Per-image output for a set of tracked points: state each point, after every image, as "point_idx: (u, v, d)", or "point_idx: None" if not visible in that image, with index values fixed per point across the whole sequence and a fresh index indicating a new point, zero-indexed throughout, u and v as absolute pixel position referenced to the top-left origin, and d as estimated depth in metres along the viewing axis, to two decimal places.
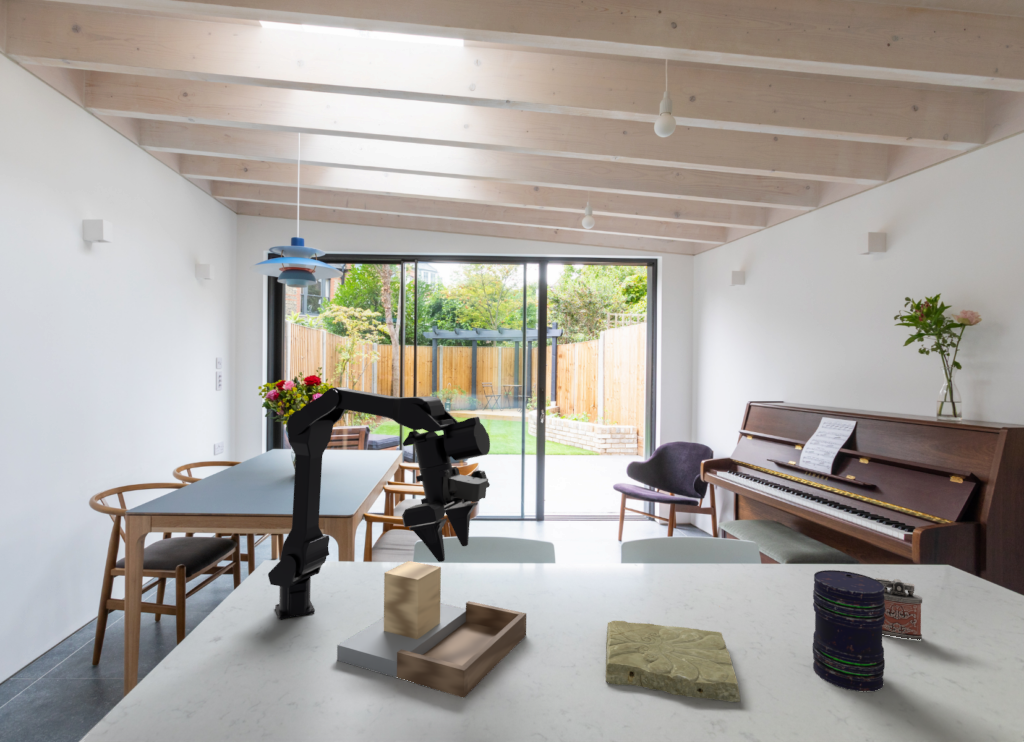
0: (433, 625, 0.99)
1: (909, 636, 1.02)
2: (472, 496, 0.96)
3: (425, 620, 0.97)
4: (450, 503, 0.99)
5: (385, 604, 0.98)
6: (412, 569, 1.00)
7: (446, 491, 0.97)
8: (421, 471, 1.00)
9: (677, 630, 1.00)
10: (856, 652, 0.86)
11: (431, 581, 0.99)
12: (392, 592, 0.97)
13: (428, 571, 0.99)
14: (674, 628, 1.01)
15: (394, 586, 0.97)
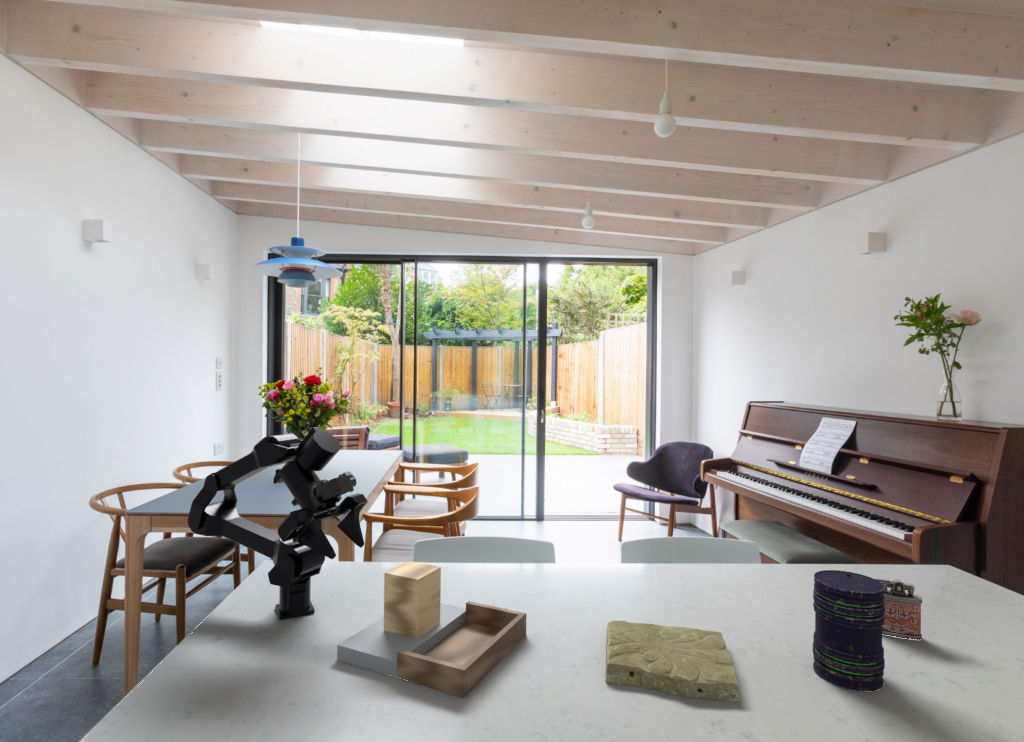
0: (433, 625, 0.99)
1: (909, 636, 1.02)
2: (334, 491, 1.05)
3: (425, 620, 0.97)
4: (329, 508, 1.08)
5: (385, 604, 0.98)
6: (412, 569, 1.00)
7: (314, 499, 1.06)
8: (293, 495, 1.09)
9: (677, 630, 1.00)
10: (856, 652, 0.86)
11: (431, 581, 0.99)
12: (392, 592, 0.97)
13: (428, 571, 0.99)
14: (674, 628, 1.01)
15: (394, 586, 0.97)
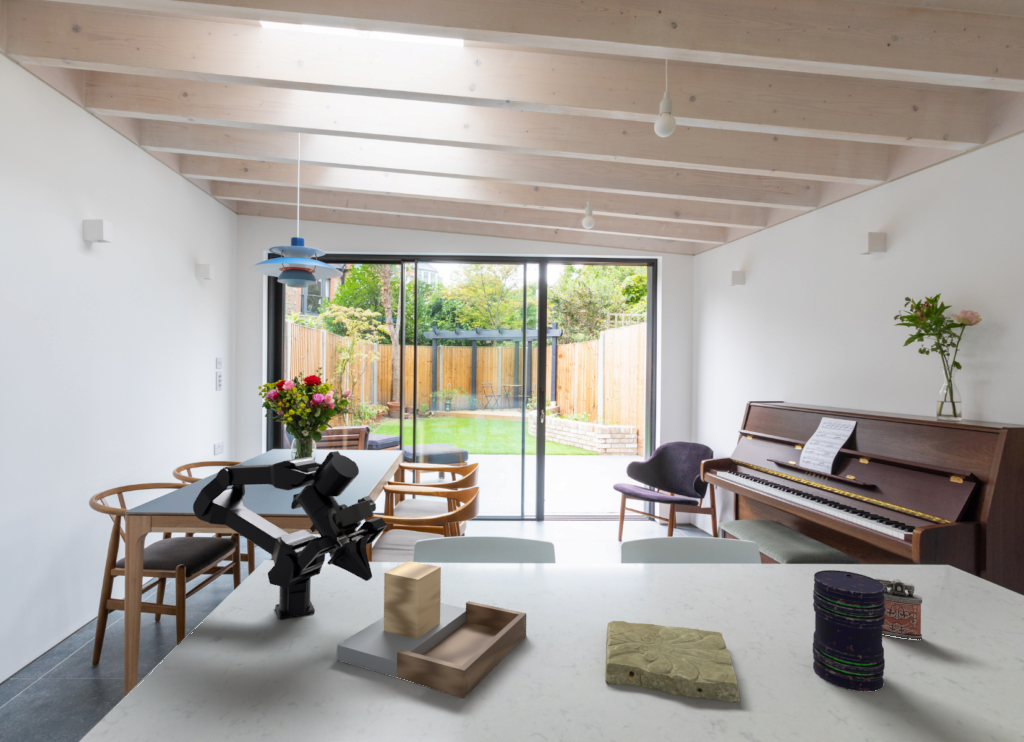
0: (433, 625, 0.99)
1: (909, 636, 1.02)
2: (354, 517, 1.03)
3: (425, 620, 0.97)
4: (362, 530, 1.09)
5: (385, 604, 0.98)
6: (412, 569, 1.00)
7: (333, 525, 1.04)
8: (311, 521, 1.07)
9: (677, 630, 1.00)
10: (856, 652, 0.86)
11: (431, 581, 0.99)
12: (392, 592, 0.97)
13: (428, 571, 0.99)
14: (674, 628, 1.01)
15: (394, 586, 0.97)
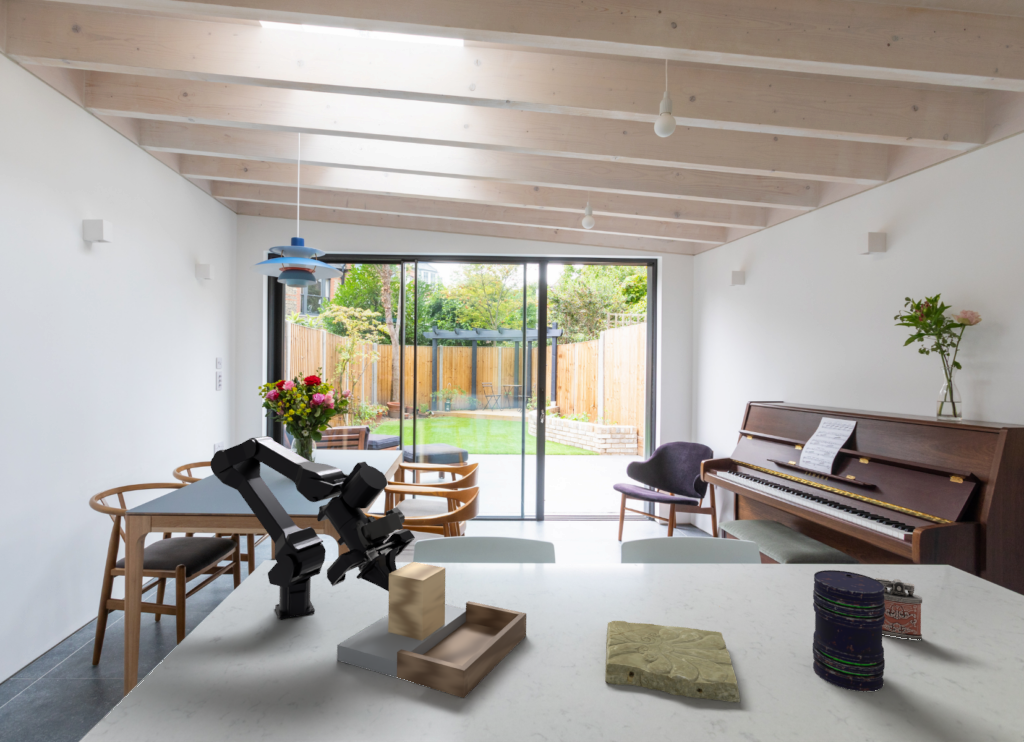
0: (438, 626, 0.99)
1: (909, 636, 1.02)
2: (384, 530, 1.00)
3: (430, 621, 0.97)
4: (390, 542, 1.06)
5: (390, 605, 0.98)
6: (417, 570, 1.00)
7: (362, 538, 1.01)
8: (339, 534, 1.04)
9: (677, 630, 1.00)
10: (856, 652, 0.86)
11: (436, 582, 0.98)
12: (397, 593, 0.97)
13: (433, 572, 0.99)
14: (674, 628, 1.01)
15: (399, 587, 0.97)
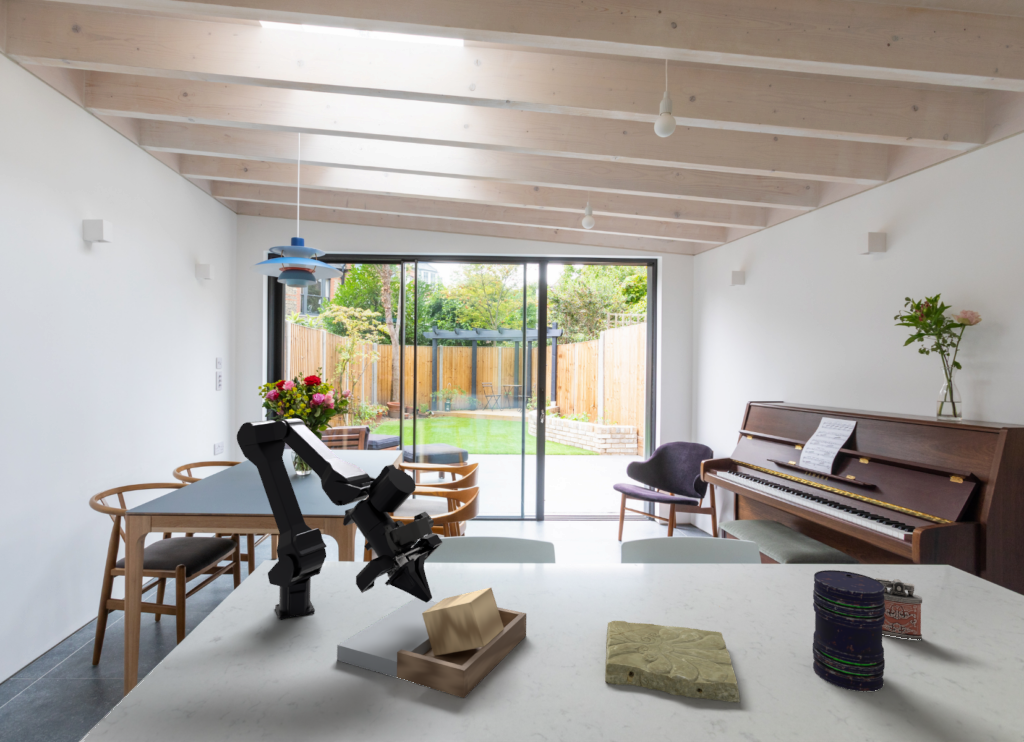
0: None
1: (909, 636, 1.02)
2: (414, 535, 0.97)
3: None
4: (418, 547, 1.04)
5: (444, 610, 0.93)
6: (487, 613, 0.93)
7: (391, 543, 0.98)
8: (366, 539, 1.01)
9: (677, 630, 1.00)
10: (856, 652, 0.86)
11: None
12: (459, 617, 0.92)
13: (494, 631, 0.93)
14: (674, 628, 1.01)
15: (464, 618, 0.91)
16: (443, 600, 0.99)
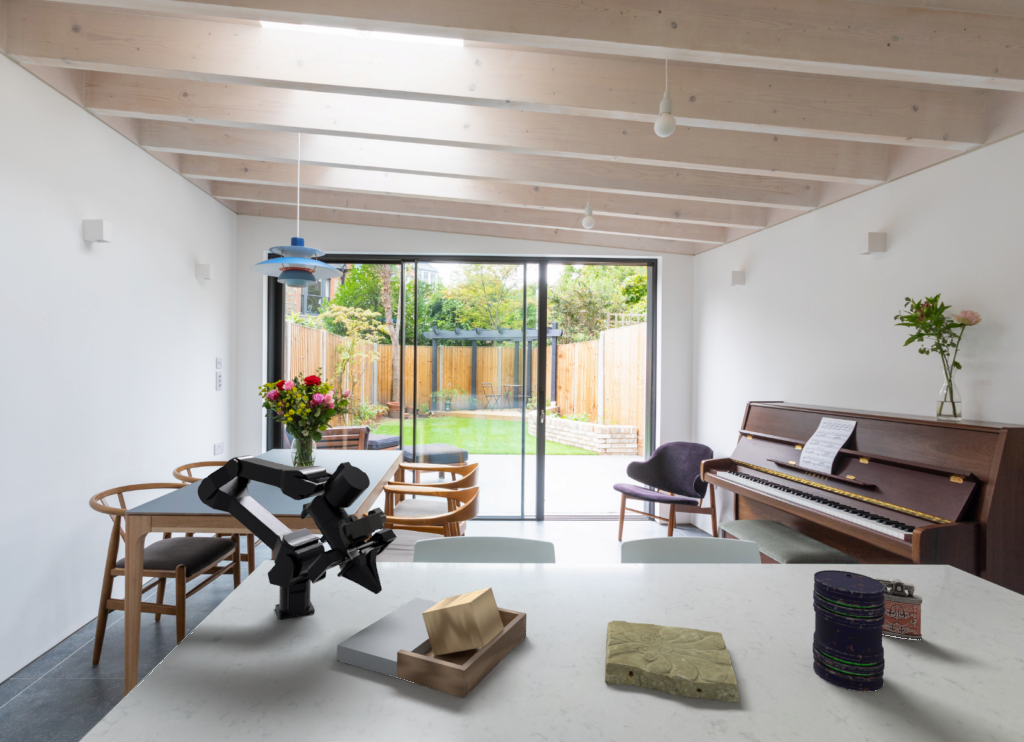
0: None
1: (909, 636, 1.02)
2: (365, 530, 1.01)
3: None
4: (372, 541, 1.08)
5: (444, 610, 0.93)
6: (487, 613, 0.93)
7: (344, 537, 1.03)
8: (321, 532, 1.06)
9: (677, 630, 1.00)
10: (856, 652, 0.86)
11: None
12: (459, 617, 0.92)
13: (494, 631, 0.93)
14: (674, 628, 1.01)
15: (464, 618, 0.91)
16: (443, 600, 0.99)
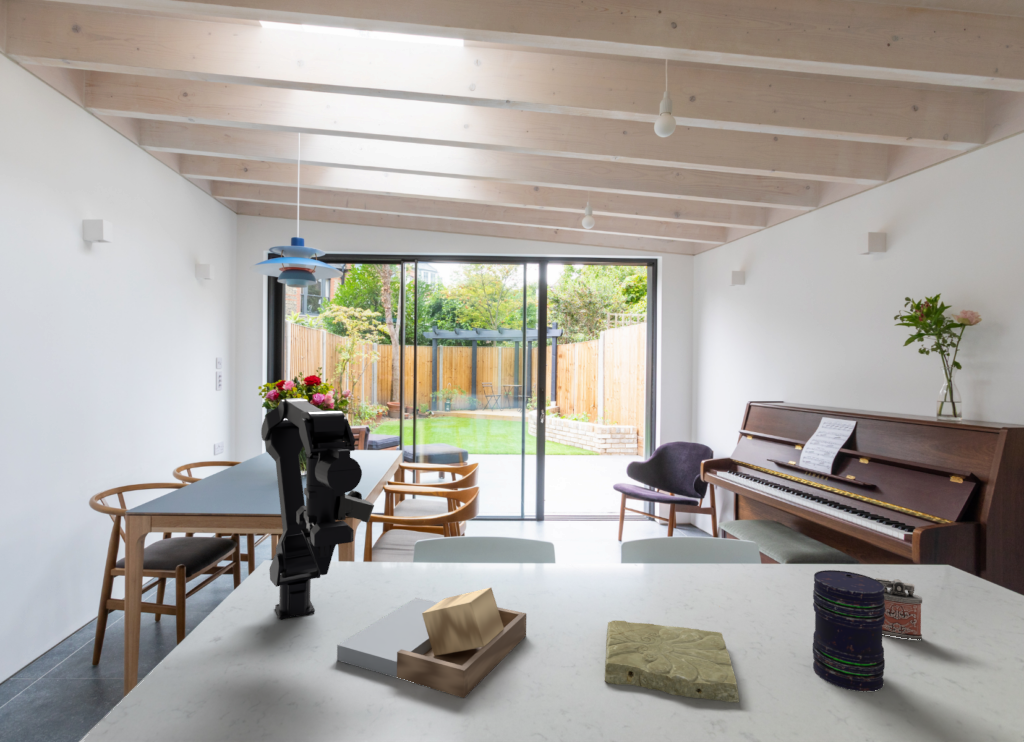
0: None
1: (909, 636, 1.02)
2: (367, 517, 1.00)
3: None
4: None
5: (444, 610, 0.93)
6: (487, 613, 0.93)
7: (342, 510, 0.98)
8: (316, 488, 0.96)
9: (677, 630, 1.00)
10: (856, 652, 0.86)
11: None
12: (459, 617, 0.92)
13: (494, 631, 0.93)
14: (674, 628, 1.00)
15: (464, 618, 0.91)
16: (443, 600, 0.99)
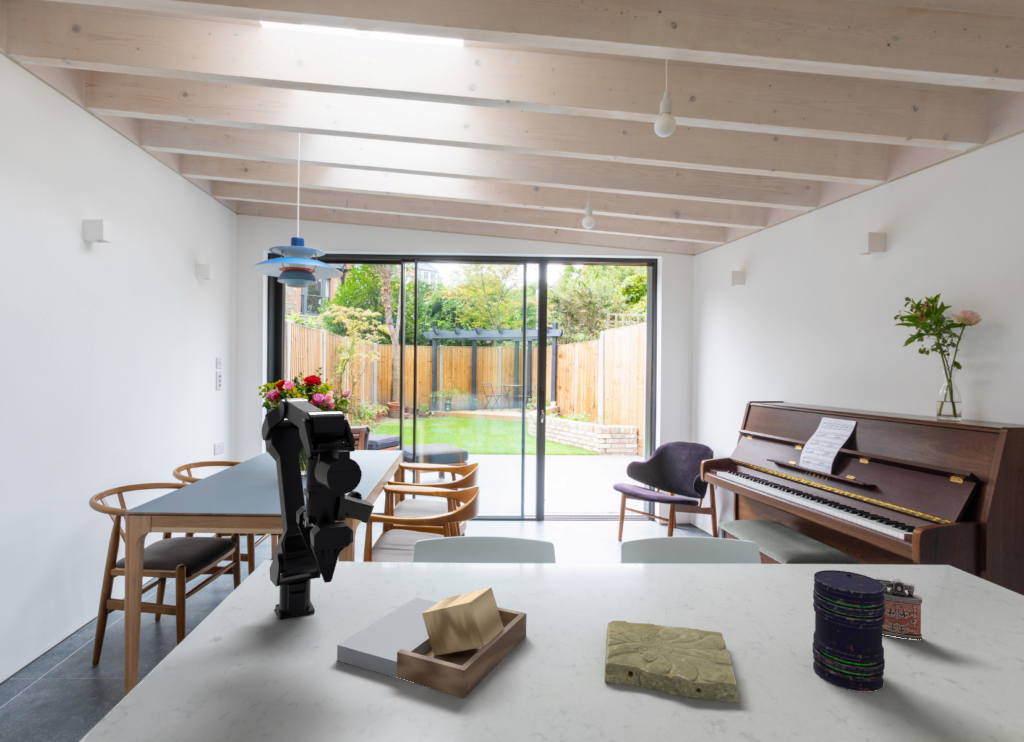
0: None
1: (909, 636, 1.02)
2: (367, 518, 1.00)
3: None
4: None
5: (444, 610, 0.93)
6: (487, 613, 0.93)
7: (342, 511, 0.98)
8: (316, 489, 0.96)
9: (677, 630, 1.00)
10: (856, 652, 0.86)
11: None
12: (459, 617, 0.92)
13: (494, 631, 0.93)
14: (674, 628, 1.00)
15: (464, 618, 0.91)
16: (443, 600, 0.99)
